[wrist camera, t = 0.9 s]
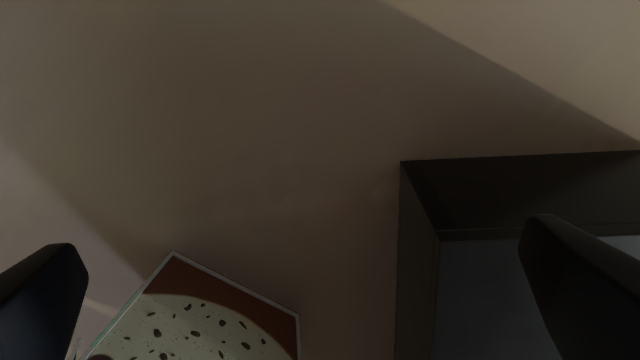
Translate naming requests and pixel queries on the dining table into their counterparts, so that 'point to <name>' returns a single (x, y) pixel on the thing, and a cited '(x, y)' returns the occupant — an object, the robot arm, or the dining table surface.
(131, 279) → the dining table surface
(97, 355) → the food container
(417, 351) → the toaster oven
